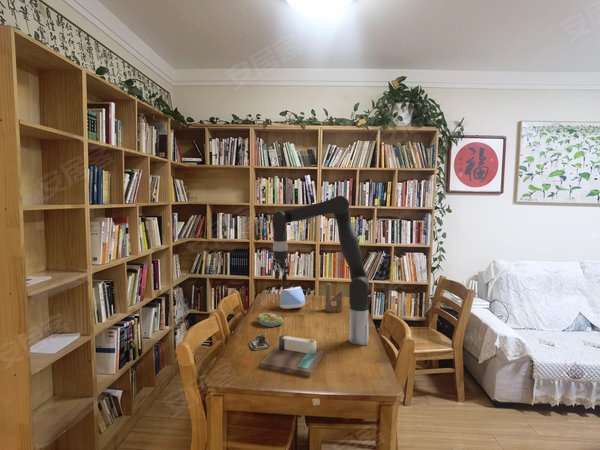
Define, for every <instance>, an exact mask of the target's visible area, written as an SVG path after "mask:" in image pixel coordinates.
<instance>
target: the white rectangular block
mask: <svg viewBox="0 0 600 450" xmlns="http://www.w3.org/2000/svg"><path fill="white" fill-rule="evenodd" d="M278 344H279V348H280V349H282V350H291V351H297V352H303V353H309V354H316V349H317V340H315V338H310V339H308V338H302V337H296V336H295V337H294V336H290V335H283V334H282V335H279V337H278Z"/></svg>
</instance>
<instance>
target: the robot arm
mask: <svg viewBox="0 0 600 450" xmlns="http://www.w3.org/2000/svg"><path fill="white" fill-rule="evenodd" d="M329 214H333V215H334V218H335V221H336V225H337V231H338V240H339V244H340V248H341V249H340V250H341V252H342V255H343V257H344V259H345V262H346V264H347V266H348V270H349V272H350V281H351V282H350V283H349V287H348V289H349V290H348V297H349V299H348V300H349V301H348V303H349V335H348V337H349V339H348V340H349V343H350V344H352V345H356V346H357V345H358V346H368V344H369V330H370V329H369V327H370V326H369V325H370V323H369V289H370V281H369V279H368V276H367V274H366V270H365V267H364V264H363V258H362V252H361V247H360V243H359V238H358V236H357V233H356V230H355V228H354V225H353V223H352V220H351V214H350V201H349V199H348V198H347V197H346V196H344V195H337V196H334V197H332V198H330V199H328V200H324V201H322V202H321V201H320V202H317V203H313V204H312V203H311V204H307V205H306V204H305V205H301V206H298V207H297V206H296V207H293V208H290V209H286V210H277V211H275V212H274V214H272V218H271V219H272V220H271V221H272V222H271V223H272V231H273V241H272V242H273V243H272V258H273V259H272V271H273V273H274V279H275V280H279V279H280V272H281V274H282V275H281V282H282V283H287V281H288V280H287V279H288V277H287V276H288V275H289V274H290V263H289V261H287V262H286V260H288V255H289V253H288V251H289V250H288V249H289V248H288V247H289V246H288V232H287V228H286V227H287V225H286V224H289V223H292V222H300V221H305V220H308V219H312V218H315V217H319V216H323V215H329Z"/></svg>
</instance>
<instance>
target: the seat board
mask: <svg viewBox="0 0 600 450" xmlns="http://www.w3.org/2000/svg"><path fill="white" fill-rule="evenodd" d="M266 355H267V356H266V357H264V359H262V361H261V362H260V364H259V365H260V366H259V368H261V369H266V370H270V371H271V370H272V371H277V372H283V373H287V374H292V375H297V376H302V377H303V376H304V377H308V378H311V377H312V375H313V373H314V371H315V370H316V368H317V366H318V365H319V363H320V361H321V359H322V358H323V356H324V350H323V349H317V348H316V354H309V353H303V352H297V351H291V350H282V349H280V348H279V343H278V344H277V345H276V346H275V347H274V348H273V349H272V350H271V351H270V352H269V353H268V354H266Z"/></svg>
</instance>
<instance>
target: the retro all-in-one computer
mask: <svg viewBox="0 0 600 450" xmlns="http://www.w3.org/2000/svg"><path fill="white" fill-rule="evenodd" d="M305 305H306V298H305V294H304V291H303V289H302V287H301V286H295V287H291V288H285V289H282V290H281V295H280V303H279V307H280V308H281V309H286V310H289V309H290V310H291V309H298V308H301V307H304V306H305Z"/></svg>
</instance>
